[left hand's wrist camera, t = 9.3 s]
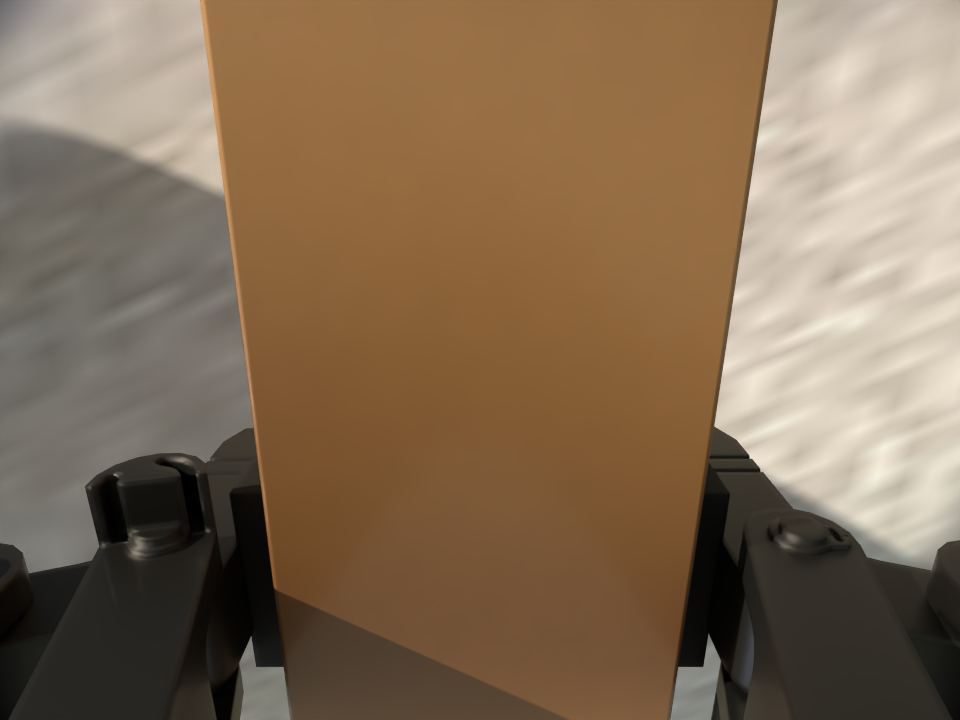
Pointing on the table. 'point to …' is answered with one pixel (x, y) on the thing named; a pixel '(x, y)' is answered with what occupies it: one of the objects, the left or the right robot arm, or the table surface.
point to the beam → (484, 335)
